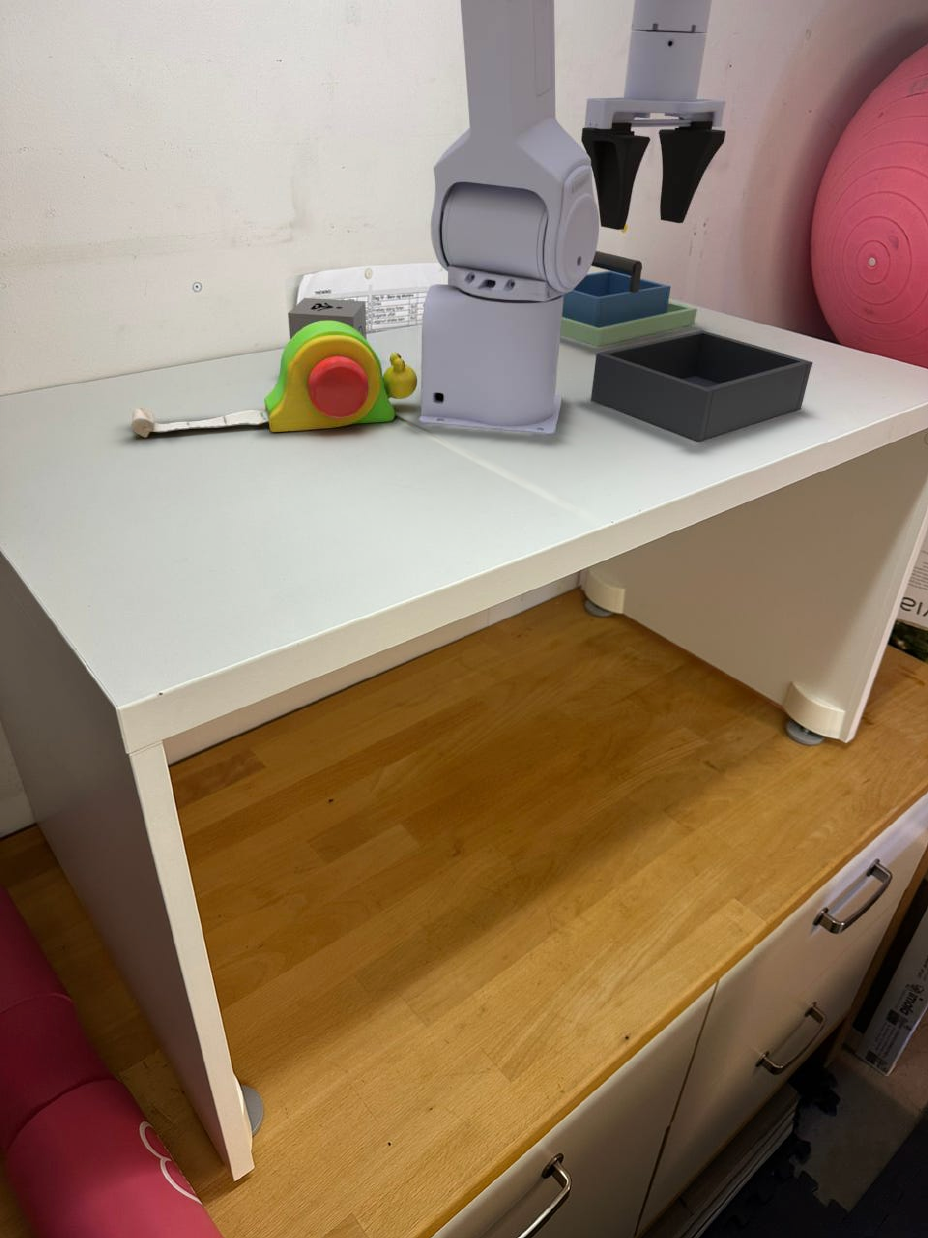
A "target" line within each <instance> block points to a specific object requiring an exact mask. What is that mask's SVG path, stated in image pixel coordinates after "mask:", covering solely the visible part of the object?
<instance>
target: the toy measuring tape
mask: <svg viewBox="0 0 928 1238" xmlns="http://www.w3.org/2000/svg"><path fill="white" fill-rule="evenodd" d="M389 362H390V366H389V367H388V368H386V370H385V371H384V372H383V369H382V364H381V361H380V359H379V357H378V355H377V353H376V351H375V350H374V348H373V347H372V346H371V344H370V343H369V341H368V340H367V338H366V339H365V338H364V337H363V336H362V335H361V334H360V333H359V332H358V331H357V330H355V329H354V328H352V327H351V326H349V325H347V324H344V323H341V322H337V321H319V322H315V323H312V324H309V325H307V326H305V327H304V328H302V329H301V330H300V331H298V332H297V333H296V334H295V335H294V336H293V337H292V338H291V339H290V338H289V341H288V342H287V343H286V345H285V347H284V349H283V352H282V355H281V360H280V368H279V375H278V379H277V381H276V383H275V385H274V387H273V388H272V389H271V391H270V392H269V393H268V394H267V395H266V396H264V400H263V403H264V410H262V409H259V410H257V409H247V410H242V411H237V412H233V413H231V414H226V415H222V416H218V417H213V418H210V419H208V418H207V419H203V420H196V421H174V422H169V423H159V422H157V421H155V413H154V412H153V411H151V410H149V409H147V408H145V407H139V408H136V409H135V410H134V411H133V413H132V419H131V428H132V430H133V432H134V433H135V434H137V435H138V436H141V437H143V438H147V437H148V436H149V434H150V433H151V432H154V433H167V432H173V431H180V430H190V429H217V428H218V429H219V428H224V427H233V426H244V425H248V426H249V425H251V426H260V425H262V424H265V423H268V425H269V430H270V431H271V432H272V433H281V432H295V431H308V430H322V429H332V428H341V427H346V426H349V425H353V424H369V423H384V422H385V423H387V422H391V421H393V420H394V418H395V416H396V415H395V413H396V412H395V409H394V406H393V405H392V403H391V401H390V399H395V400H403V399H406V398H407V399H408V398H409V397H410V396H412V395H413V394H414V392H415V391H416V388H417V385H418V375H417V373H416V371H415V370H414V369H413V368H412V367H411V366H410V365H407V364H406V363H405V361H404V359H403V358H402V355H401V354H399V352H393V353H391V354H390V356H389Z"/></svg>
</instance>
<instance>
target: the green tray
mask: <svg viewBox="0 0 928 1238" xmlns="http://www.w3.org/2000/svg"><path fill="white" fill-rule="evenodd" d="M697 312H698V309H697V308H696V307H692V306H690V305H689V306H688V305H684V304H680V303H678V302H673V301H668V307H667V313H665V314H660V315H656V316H651V317H647V318H642V319H637V320H633V321H628V322H624V323H619V324H614V325H610V326H605V327H601V328H598V327H594V326H591V325H588V324H584V323H581V322H578V321H574V320H571V319H568V318H564V317H562V322H561V333H560V336H563V337H565V338H568V339H573V340H576V341H579V342H582V343H585V344H588V345H591V346H594V347H602V346H606V345H610V344H614V343H620V342H623V341H626V340H631V339H636V338H640V337H644V336H648V335H652V334H657V333H662V332H666V331H670V330H675V329H678V328H683V327H687V326H691V325H695V323H696V318H697Z"/></svg>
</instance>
